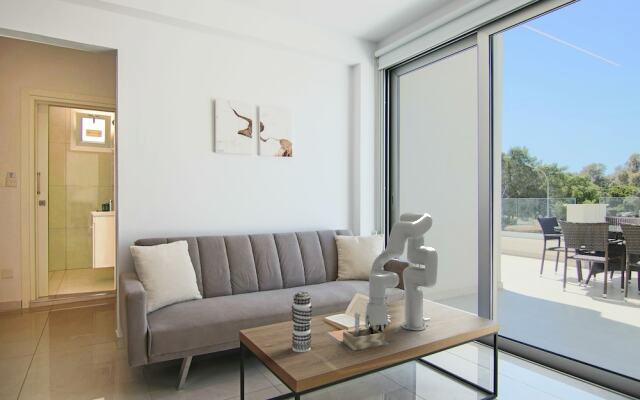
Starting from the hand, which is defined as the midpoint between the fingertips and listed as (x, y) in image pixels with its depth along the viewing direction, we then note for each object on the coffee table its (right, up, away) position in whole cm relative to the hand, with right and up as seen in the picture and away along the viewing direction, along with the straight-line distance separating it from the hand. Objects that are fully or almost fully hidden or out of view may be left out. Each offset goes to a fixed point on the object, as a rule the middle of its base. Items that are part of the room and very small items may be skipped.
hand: (376, 339), depth 182 cm
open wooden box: (-6, -1, -3) cm, 7 cm away
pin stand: (-10, -2, +3) cm, 10 cm away
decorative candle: (-35, -2, -7) cm, 36 cm away
